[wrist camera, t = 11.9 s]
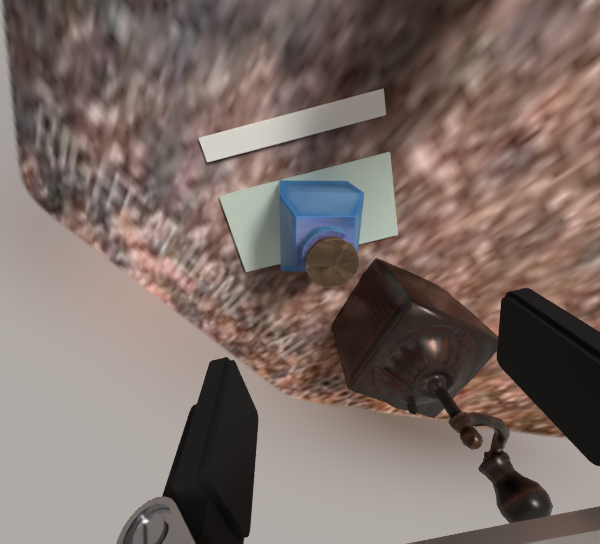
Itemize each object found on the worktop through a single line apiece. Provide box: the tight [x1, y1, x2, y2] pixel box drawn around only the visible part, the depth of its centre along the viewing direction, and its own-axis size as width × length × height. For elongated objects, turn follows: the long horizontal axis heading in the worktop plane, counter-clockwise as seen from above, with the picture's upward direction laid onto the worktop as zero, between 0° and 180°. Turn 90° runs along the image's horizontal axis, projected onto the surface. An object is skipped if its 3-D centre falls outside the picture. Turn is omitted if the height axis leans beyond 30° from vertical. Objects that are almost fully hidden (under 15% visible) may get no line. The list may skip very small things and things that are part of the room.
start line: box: [199, 88, 386, 162], centre depth 25 cm, size 2×16×1 cm, turn 104°
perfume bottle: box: [279, 180, 364, 288], centre depth 23 cm, size 6×6×12 cm
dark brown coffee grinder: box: [332, 258, 553, 523], centre depth 26 cm, size 16×11×18 cm
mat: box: [219, 152, 398, 272], centre depth 28 cm, size 8×16×1 cm, turn 103°
